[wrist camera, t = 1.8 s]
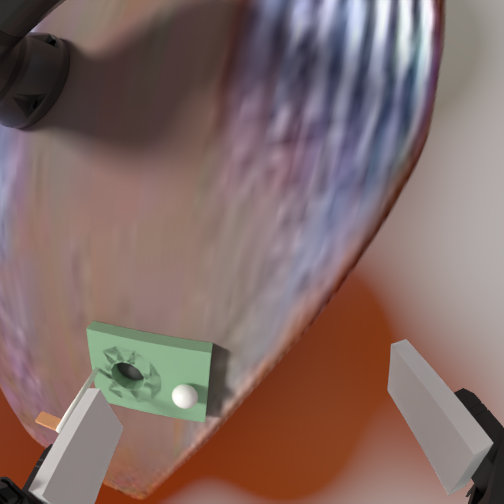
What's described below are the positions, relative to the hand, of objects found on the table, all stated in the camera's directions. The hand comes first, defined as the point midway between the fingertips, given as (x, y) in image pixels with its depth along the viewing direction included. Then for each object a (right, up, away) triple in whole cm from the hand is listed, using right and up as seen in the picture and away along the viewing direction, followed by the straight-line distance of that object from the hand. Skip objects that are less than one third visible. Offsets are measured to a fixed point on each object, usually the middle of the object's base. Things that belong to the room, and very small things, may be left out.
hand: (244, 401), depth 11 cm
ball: (-9, -14, +25) cm, 30 cm away
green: (-16, -12, +29) cm, 35 cm away
